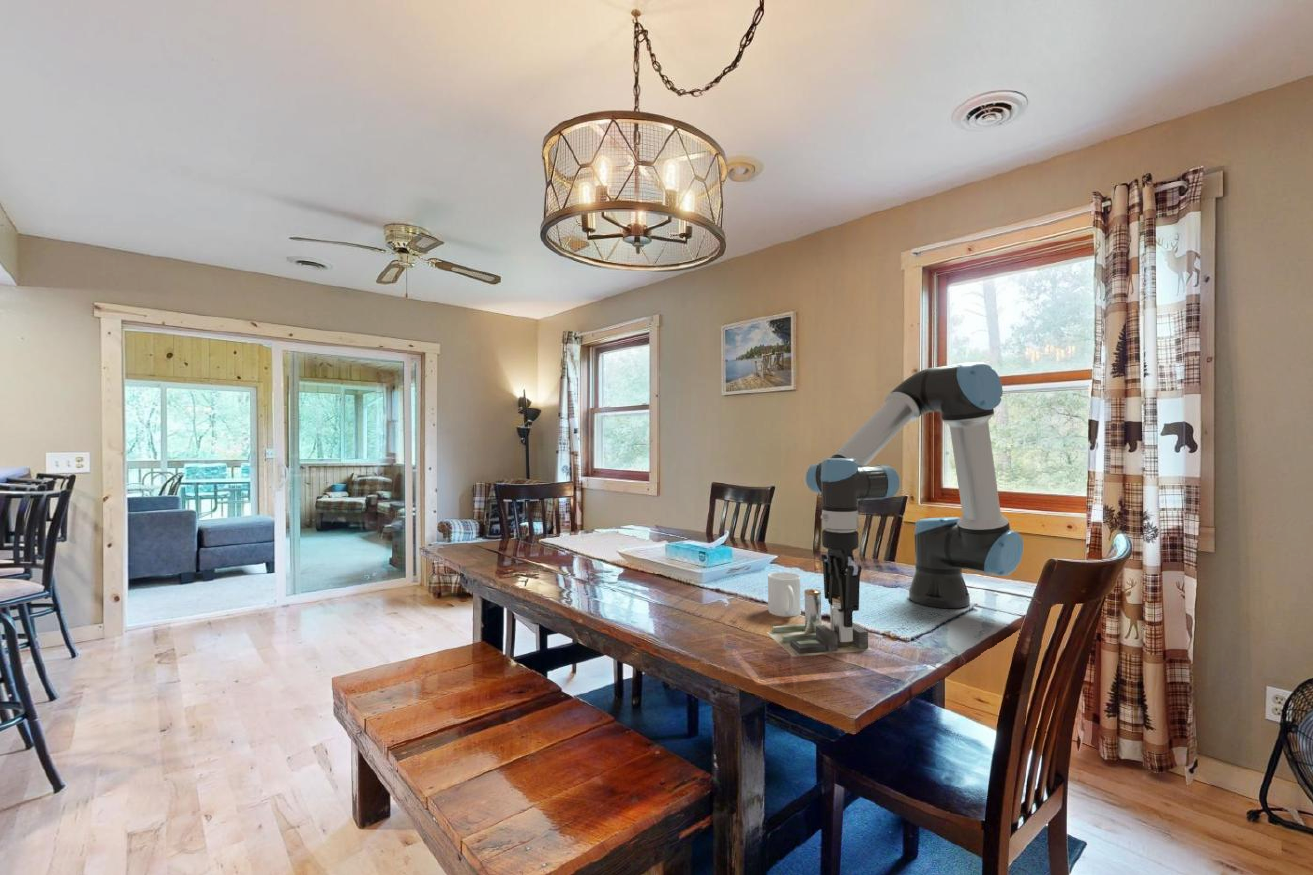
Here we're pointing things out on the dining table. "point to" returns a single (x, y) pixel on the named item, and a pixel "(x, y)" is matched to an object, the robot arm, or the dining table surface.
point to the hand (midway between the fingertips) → (841, 637)
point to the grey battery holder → (816, 640)
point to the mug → (784, 594)
